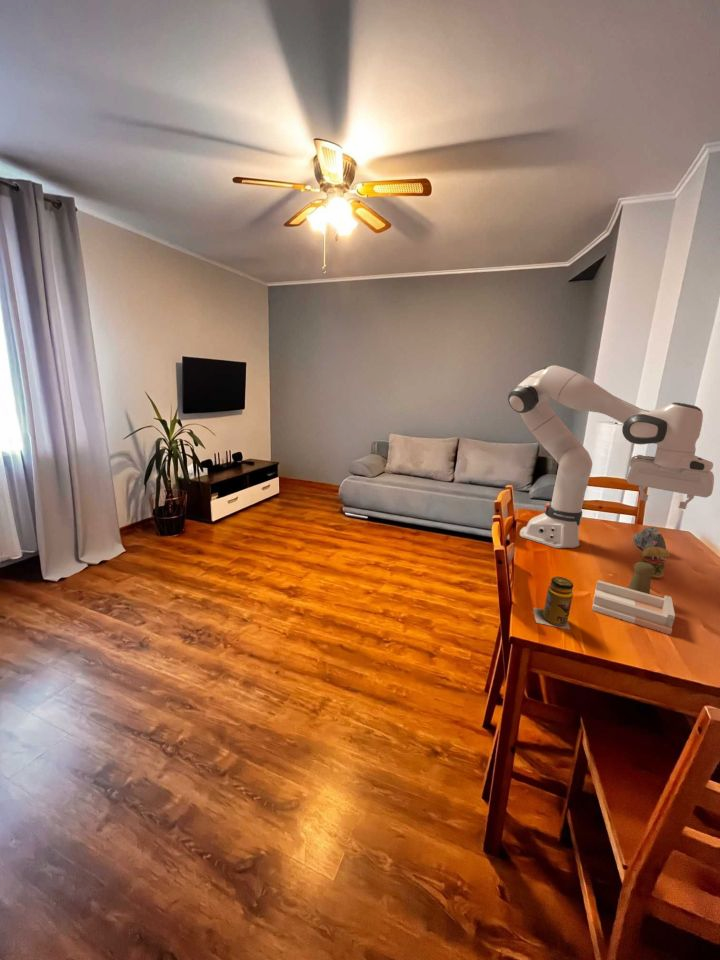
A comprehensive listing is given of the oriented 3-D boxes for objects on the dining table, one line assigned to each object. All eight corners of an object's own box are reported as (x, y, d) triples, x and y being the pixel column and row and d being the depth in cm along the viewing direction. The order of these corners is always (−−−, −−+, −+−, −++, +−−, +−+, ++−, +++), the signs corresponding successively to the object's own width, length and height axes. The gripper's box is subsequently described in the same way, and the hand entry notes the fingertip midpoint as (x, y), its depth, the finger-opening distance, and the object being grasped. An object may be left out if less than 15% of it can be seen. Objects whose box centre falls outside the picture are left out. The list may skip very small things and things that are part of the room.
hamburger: (647, 580, 128) (656, 547, 125) (631, 569, 135) (639, 538, 132) (669, 580, 129) (678, 547, 126) (652, 569, 136) (660, 538, 133)
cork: (653, 602, 115) (662, 570, 112) (631, 599, 116) (639, 567, 113) (643, 592, 121) (651, 560, 118) (622, 589, 122) (629, 558, 119)
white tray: (592, 610, 110) (595, 594, 108) (595, 589, 121) (598, 575, 120) (670, 635, 100) (675, 618, 99) (666, 610, 111) (670, 595, 110)
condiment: (570, 630, 100) (579, 589, 97) (536, 623, 103) (543, 583, 100) (565, 614, 107) (573, 576, 104) (532, 608, 110) (539, 570, 106)
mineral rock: (631, 540, 162) (636, 518, 159) (662, 547, 156) (669, 524, 153) (631, 550, 151) (637, 527, 149) (665, 558, 146) (672, 534, 143)
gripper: (628, 454, 117) (619, 497, 121) (717, 467, 103) (704, 515, 106) (634, 452, 121) (625, 494, 125) (720, 464, 107) (707, 510, 110)
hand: (662, 504), depth 115 cm, fingers open, 8 cm apart
